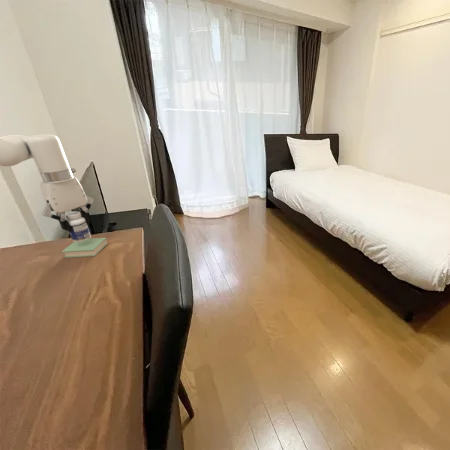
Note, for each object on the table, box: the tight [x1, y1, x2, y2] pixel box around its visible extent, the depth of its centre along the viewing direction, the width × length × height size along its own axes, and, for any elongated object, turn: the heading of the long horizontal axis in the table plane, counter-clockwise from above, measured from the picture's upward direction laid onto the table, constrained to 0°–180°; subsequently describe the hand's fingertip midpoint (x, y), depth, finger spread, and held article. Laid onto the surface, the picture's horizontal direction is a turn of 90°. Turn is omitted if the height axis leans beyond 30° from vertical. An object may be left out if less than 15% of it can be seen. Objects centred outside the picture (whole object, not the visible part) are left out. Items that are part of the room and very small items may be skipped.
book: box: [61, 237, 109, 259], centre depth 97 cm, size 10×9×2 cm
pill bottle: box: [65, 210, 92, 242], centre depth 94 cm, size 5×5×10 cm
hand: (77, 226), depth 94 cm, fingers closed on pill bottle, 5 cm apart
